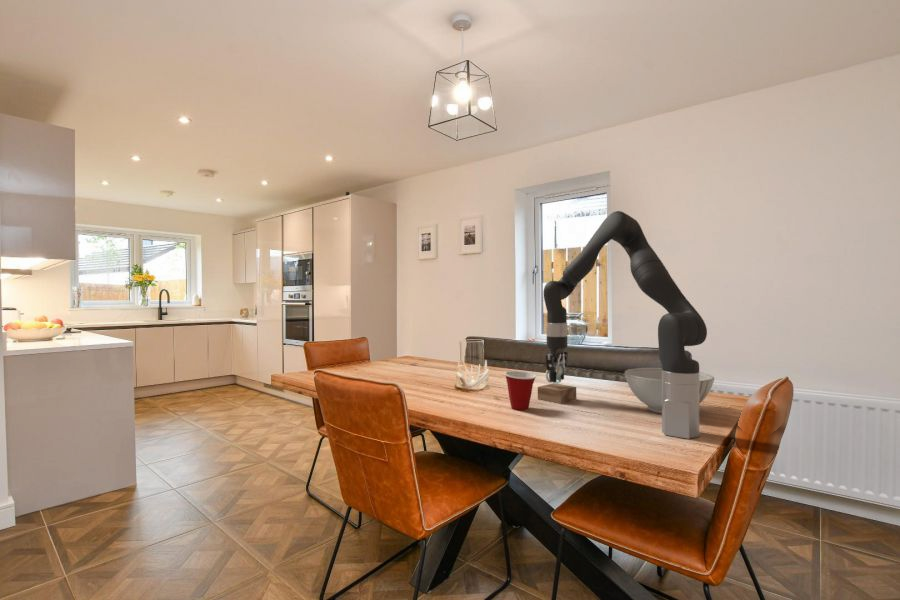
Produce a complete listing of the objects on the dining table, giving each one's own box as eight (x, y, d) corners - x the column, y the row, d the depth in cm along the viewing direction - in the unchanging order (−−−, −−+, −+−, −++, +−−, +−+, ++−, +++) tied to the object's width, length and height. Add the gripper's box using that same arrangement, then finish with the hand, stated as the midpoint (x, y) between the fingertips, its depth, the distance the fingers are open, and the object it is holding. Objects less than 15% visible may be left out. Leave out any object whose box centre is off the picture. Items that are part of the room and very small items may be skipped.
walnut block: (560, 404, 159) (560, 390, 159) (537, 400, 167) (537, 386, 167) (576, 400, 166) (576, 387, 166) (553, 396, 174) (553, 383, 174)
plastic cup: (528, 414, 146) (528, 377, 146) (498, 409, 152) (498, 374, 152) (541, 407, 155) (541, 372, 155) (513, 403, 161) (513, 369, 161)
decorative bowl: (707, 426, 132) (707, 384, 132) (614, 412, 148) (614, 375, 148) (719, 408, 153) (719, 372, 153) (636, 397, 169) (636, 365, 169)
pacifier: (543, 382, 167) (559, 386, 166) (544, 376, 162) (561, 380, 160) (547, 364, 171) (563, 368, 169) (548, 358, 165) (565, 361, 164)
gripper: (558, 336, 158) (558, 384, 158) (574, 334, 170) (574, 378, 170) (538, 335, 163) (538, 382, 163) (556, 333, 174) (556, 376, 174)
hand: (557, 380), depth 166 cm, fingers closed on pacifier, 6 cm apart
